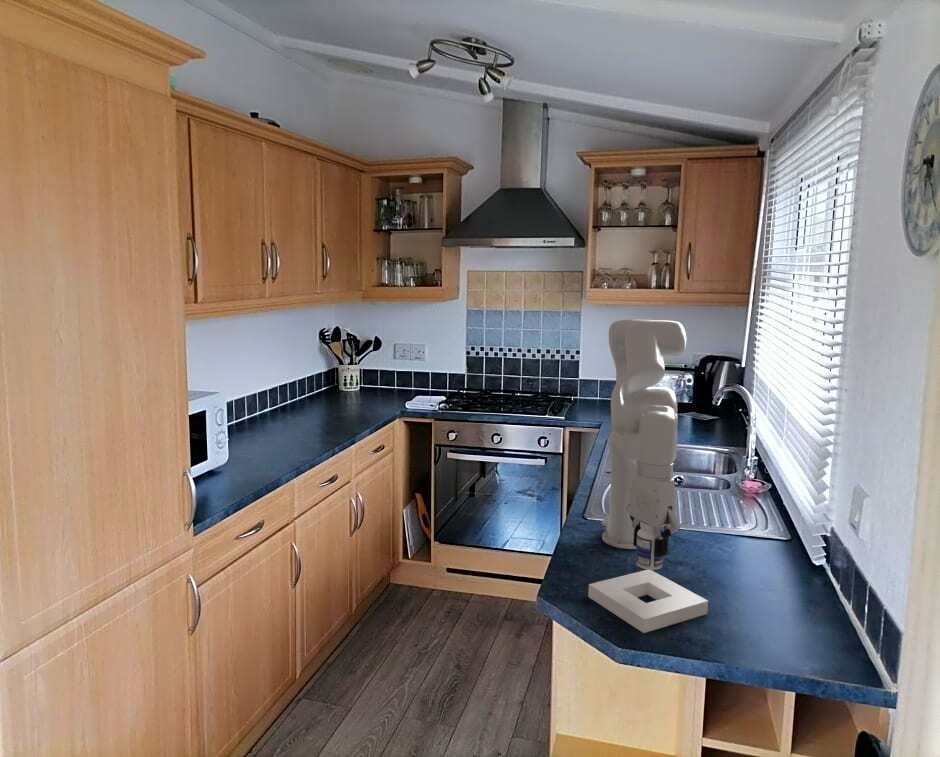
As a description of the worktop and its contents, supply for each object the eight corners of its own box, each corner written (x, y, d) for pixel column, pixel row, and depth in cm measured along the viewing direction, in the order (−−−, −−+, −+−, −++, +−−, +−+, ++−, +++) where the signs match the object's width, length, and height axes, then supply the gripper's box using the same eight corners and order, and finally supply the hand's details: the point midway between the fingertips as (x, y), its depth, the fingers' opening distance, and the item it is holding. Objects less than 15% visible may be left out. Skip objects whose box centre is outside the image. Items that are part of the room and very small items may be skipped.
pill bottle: (658, 560, 157) (660, 517, 155) (666, 570, 151) (668, 526, 150) (632, 560, 157) (634, 516, 155) (639, 570, 151) (642, 525, 150)
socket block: (588, 596, 159) (588, 584, 159) (648, 581, 168) (649, 569, 167) (643, 633, 144) (644, 619, 143) (707, 613, 152) (708, 600, 152)
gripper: (614, 461, 157) (610, 540, 159) (670, 482, 142) (665, 568, 144) (640, 458, 160) (636, 535, 163) (698, 477, 145) (692, 561, 148)
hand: (650, 549), depth 153 cm, fingers closed on pill bottle, 5 cm apart
